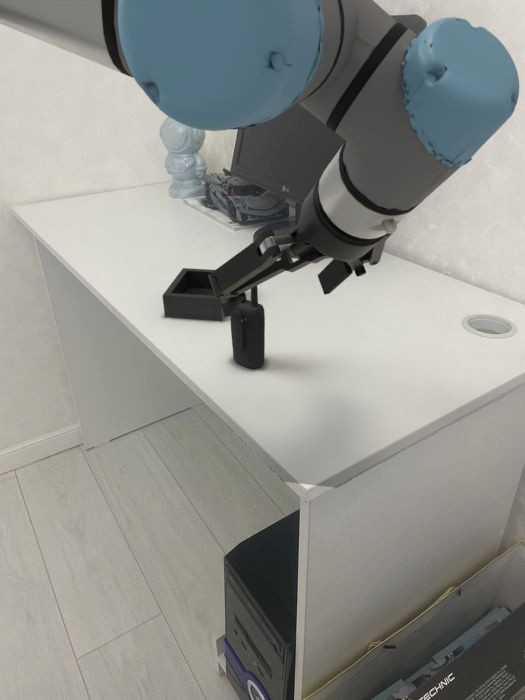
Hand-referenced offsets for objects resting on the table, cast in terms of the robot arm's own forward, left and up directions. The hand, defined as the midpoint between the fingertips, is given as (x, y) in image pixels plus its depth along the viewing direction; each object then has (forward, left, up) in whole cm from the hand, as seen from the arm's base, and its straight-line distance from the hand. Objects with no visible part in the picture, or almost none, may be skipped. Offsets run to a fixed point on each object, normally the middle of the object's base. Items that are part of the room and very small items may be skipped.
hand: (275, 295), depth 64 cm
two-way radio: (-5, +8, -16) cm, 18 cm away
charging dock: (-17, +27, -16) cm, 35 cm away
